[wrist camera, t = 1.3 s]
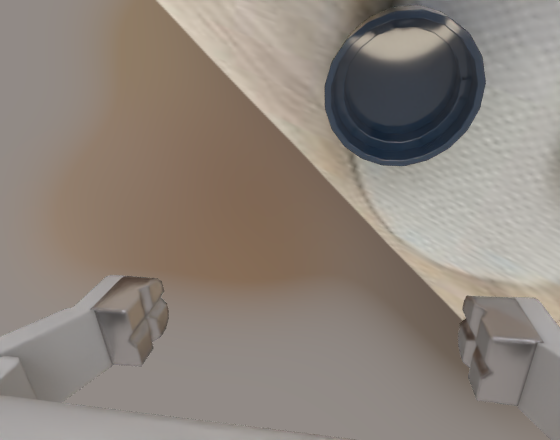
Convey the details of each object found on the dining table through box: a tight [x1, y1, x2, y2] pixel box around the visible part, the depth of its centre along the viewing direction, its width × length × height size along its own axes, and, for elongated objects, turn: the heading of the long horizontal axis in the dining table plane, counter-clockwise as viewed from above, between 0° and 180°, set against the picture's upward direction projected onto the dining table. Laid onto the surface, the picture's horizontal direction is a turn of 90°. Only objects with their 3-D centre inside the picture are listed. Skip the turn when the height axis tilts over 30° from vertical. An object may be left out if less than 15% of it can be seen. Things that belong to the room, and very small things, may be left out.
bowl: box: [325, 5, 486, 166], centre depth 34 cm, size 13×13×6 cm
